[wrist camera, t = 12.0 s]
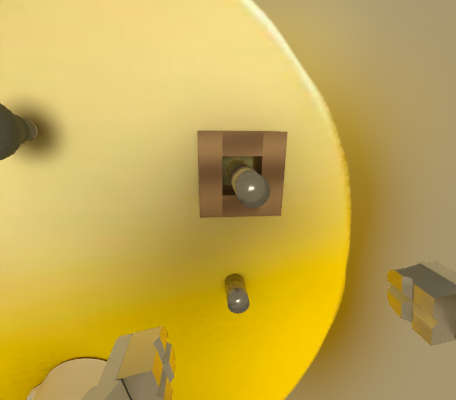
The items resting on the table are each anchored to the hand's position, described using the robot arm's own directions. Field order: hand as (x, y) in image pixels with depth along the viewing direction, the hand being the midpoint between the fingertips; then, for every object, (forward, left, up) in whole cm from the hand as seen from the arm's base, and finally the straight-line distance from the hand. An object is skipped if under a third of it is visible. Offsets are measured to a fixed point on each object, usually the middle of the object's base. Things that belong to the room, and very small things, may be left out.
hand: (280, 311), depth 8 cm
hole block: (+1, -2, -25) cm, 25 cm away
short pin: (-17, -2, -25) cm, 30 cm away
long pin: (+1, -2, -25) cm, 25 cm away
